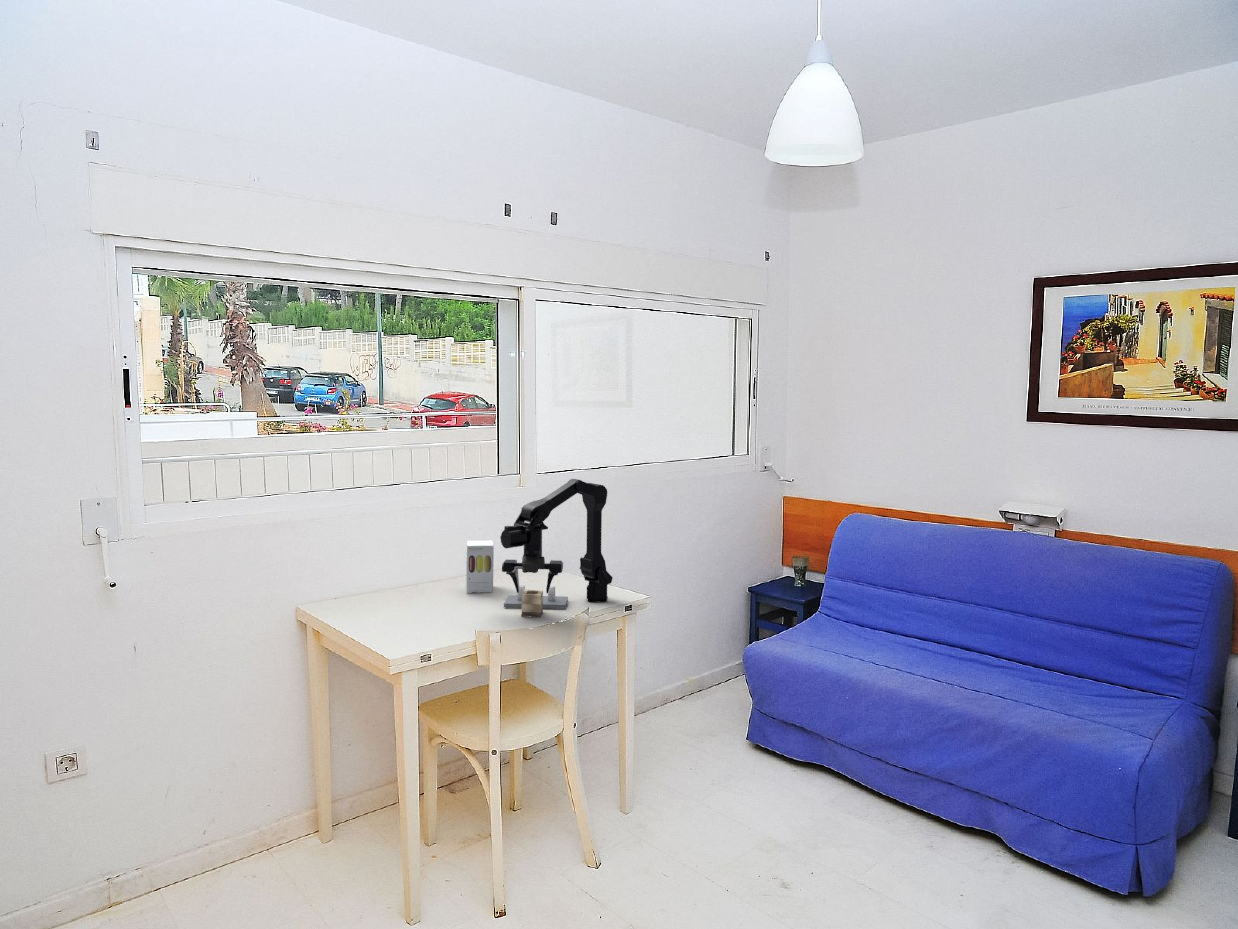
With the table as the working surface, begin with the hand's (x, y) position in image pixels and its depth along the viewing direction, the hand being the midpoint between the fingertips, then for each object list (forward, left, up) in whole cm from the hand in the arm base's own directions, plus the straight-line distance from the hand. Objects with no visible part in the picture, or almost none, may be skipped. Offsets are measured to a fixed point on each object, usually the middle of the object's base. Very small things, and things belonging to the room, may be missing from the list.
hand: (532, 592), depth 256 cm
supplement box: (+22, -28, -7) cm, 36 cm away
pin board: (0, -11, -7) cm, 13 cm away
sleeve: (0, 0, -7) cm, 7 cm away
